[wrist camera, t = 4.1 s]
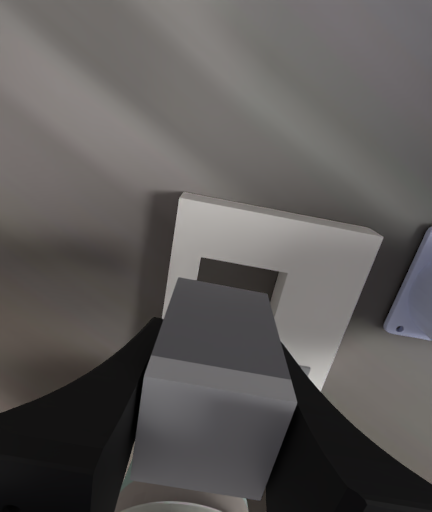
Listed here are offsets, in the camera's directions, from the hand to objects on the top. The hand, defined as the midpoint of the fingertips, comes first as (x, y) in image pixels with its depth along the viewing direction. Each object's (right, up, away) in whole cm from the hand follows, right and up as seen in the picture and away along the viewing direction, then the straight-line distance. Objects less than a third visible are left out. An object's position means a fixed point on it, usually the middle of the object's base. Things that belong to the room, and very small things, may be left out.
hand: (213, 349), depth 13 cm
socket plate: (+3, +1, +9) cm, 9 cm away
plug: (0, +1, +2) cm, 2 cm away
